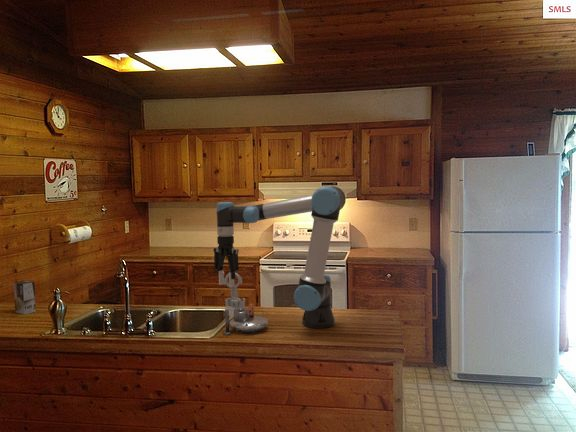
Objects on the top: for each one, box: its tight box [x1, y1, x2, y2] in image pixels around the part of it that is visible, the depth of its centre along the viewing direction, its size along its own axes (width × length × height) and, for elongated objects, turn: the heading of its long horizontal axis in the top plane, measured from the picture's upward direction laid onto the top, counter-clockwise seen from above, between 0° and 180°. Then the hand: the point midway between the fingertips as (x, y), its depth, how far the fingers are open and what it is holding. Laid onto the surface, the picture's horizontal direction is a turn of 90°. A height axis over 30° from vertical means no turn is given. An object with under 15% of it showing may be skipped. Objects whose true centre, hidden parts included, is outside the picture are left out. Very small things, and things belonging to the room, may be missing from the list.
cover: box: [233, 308, 249, 322], centre depth 215 cm, size 7×7×5 cm
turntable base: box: [235, 328, 263, 335], centre depth 213 cm, size 12×12×2 cm
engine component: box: [223, 272, 246, 310], centre depth 244 cm, size 11×20×10 cm
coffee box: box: [13, 280, 37, 315], centre depth 249 cm, size 9×6×16 cm
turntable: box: [229, 303, 269, 330], centre depth 213 cm, size 17×17×8 cm
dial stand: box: [222, 306, 234, 336], centre depth 207 cm, size 4×4×12 cm
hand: (226, 285), depth 220 cm, fingers open, 6 cm apart
